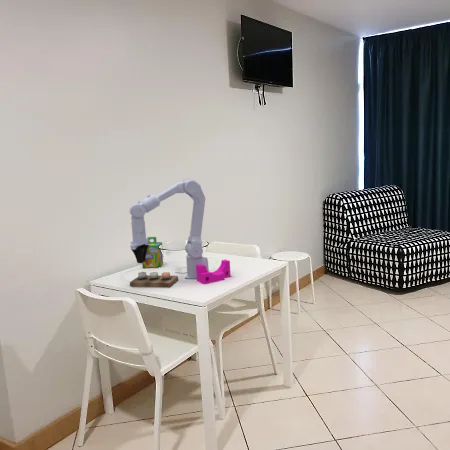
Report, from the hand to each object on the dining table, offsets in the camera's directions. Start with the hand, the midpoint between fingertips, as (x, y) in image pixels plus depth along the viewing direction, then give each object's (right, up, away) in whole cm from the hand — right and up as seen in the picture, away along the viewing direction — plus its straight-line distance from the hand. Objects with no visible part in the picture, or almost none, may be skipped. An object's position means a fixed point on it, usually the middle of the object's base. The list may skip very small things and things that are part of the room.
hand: (141, 262), depth 193 cm
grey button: (0, -6, +1) cm, 6 cm away
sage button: (+6, -6, 0) cm, 8 cm away
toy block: (+32, -8, +2) cm, 33 cm away
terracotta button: (+11, -6, -2) cm, 13 cm away
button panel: (+6, -9, 0) cm, 11 cm away
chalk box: (0, -5, +32) cm, 32 cm away
